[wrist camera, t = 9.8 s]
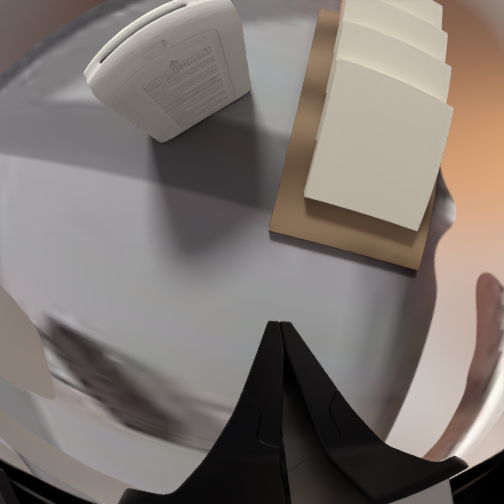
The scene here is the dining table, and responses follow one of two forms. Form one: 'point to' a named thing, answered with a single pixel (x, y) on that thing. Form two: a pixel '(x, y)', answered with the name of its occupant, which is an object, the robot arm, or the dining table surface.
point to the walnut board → (321, 213)
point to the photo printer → (173, 66)
